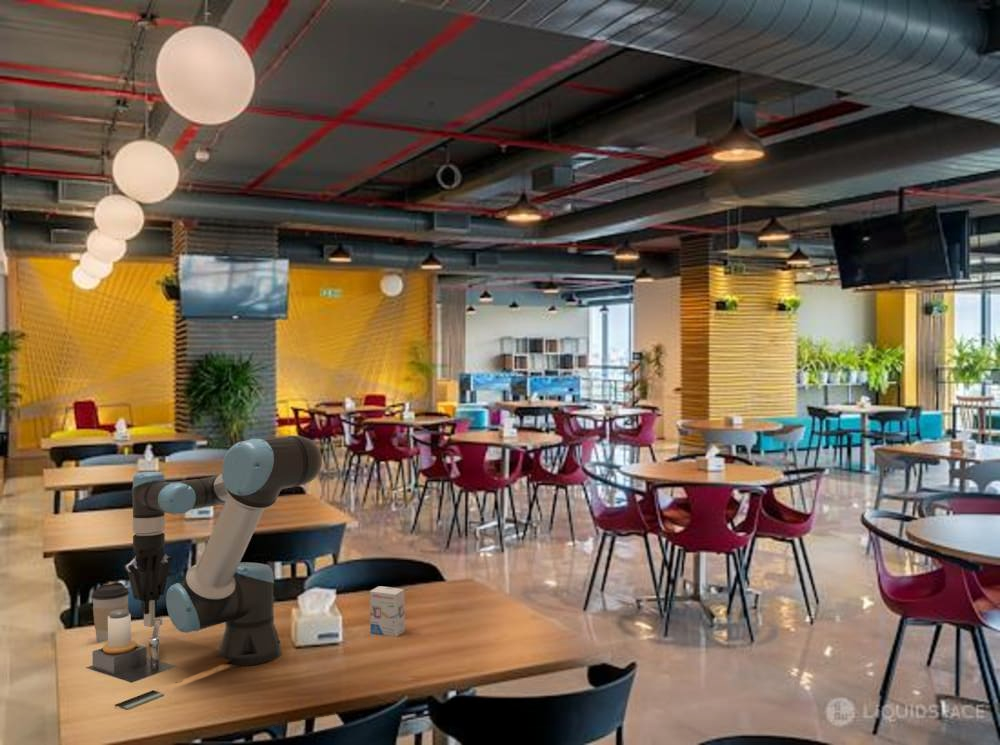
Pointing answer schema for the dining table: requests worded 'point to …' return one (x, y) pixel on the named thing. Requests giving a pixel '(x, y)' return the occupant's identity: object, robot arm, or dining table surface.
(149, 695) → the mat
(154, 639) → the grey metal lever
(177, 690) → the dining table surface
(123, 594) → the coffee cup
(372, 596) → the ink box
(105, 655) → the grey open box fixture
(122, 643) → the plug
